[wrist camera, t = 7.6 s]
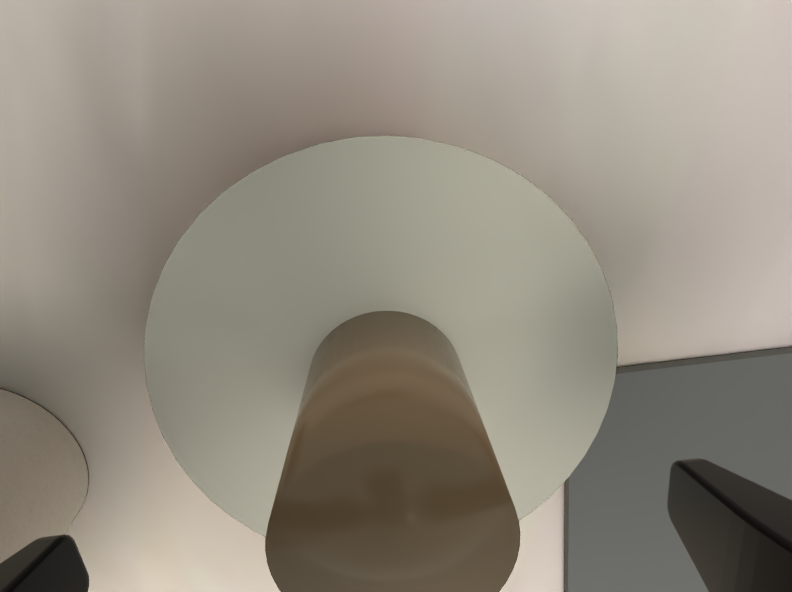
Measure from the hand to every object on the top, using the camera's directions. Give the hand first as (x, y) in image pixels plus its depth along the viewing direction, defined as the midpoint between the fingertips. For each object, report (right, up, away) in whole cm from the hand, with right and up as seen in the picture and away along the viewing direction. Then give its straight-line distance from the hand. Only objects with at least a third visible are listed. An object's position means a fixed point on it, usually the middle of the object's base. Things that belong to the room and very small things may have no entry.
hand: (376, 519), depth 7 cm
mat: (+13, -4, +11) cm, 17 cm away
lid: (0, +2, +5) cm, 5 cm away
